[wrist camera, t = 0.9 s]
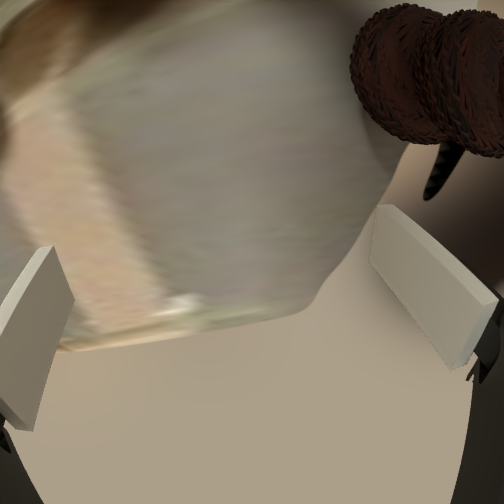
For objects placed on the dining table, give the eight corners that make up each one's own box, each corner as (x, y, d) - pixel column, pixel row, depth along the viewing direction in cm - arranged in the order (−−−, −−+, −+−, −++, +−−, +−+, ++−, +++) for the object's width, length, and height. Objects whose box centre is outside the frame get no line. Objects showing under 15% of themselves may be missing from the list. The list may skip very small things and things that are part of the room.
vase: (312, 110, 34) (555, 220, 8) (342, -6, 27) (576, -64, 1) (415, 145, 37) (609, 261, 12) (441, 45, 30) (646, 84, 5)
